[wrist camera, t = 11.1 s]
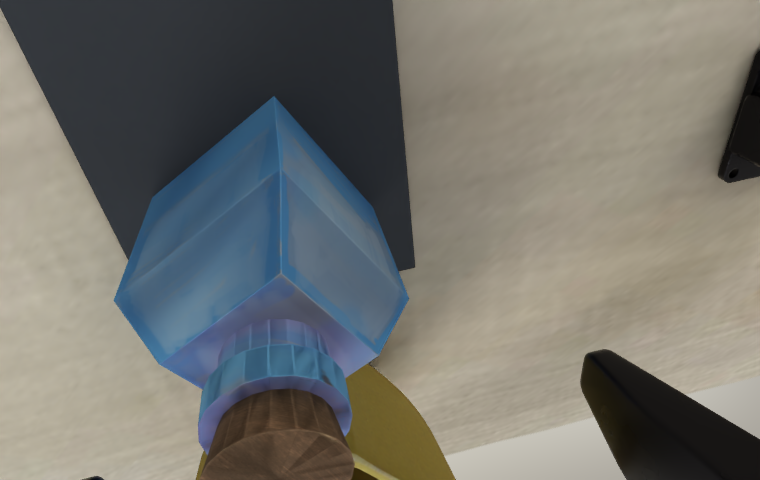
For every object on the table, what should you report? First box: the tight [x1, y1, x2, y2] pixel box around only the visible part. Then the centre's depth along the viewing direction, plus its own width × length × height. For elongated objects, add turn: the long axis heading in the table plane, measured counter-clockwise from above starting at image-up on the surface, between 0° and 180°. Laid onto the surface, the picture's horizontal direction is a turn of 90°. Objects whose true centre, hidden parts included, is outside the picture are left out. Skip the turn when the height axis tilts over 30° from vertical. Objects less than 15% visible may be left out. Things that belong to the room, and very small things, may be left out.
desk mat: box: [0, 0, 415, 271], centre depth 17 cm, size 12×20×1 cm, turn 6°
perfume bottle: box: [114, 96, 409, 480], centre depth 15 cm, size 6×6×12 cm
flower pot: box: [196, 364, 456, 480], centre depth 23 cm, size 9×9×9 cm
